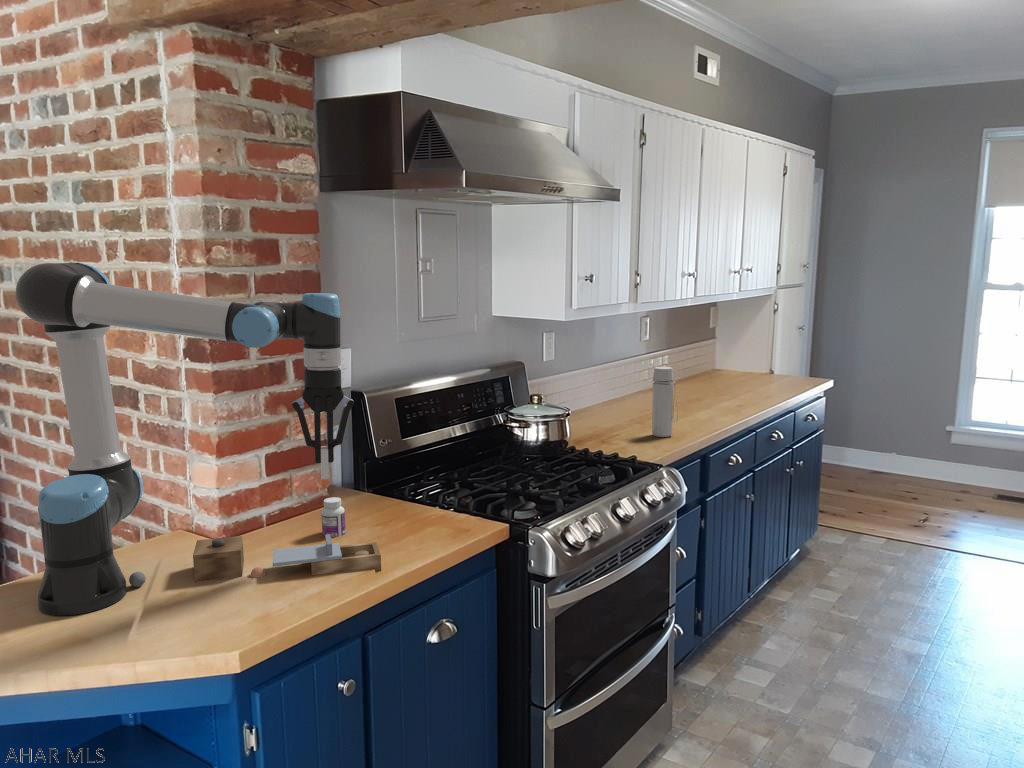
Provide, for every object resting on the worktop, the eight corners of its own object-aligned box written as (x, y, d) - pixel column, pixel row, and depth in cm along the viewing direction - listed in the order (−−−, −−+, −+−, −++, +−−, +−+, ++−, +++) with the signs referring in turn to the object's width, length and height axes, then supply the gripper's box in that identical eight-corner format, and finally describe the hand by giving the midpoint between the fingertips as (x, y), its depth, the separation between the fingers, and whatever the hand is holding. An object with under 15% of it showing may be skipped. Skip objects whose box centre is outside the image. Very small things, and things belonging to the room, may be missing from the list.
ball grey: (125, 578, 157) (139, 570, 158) (127, 574, 160) (142, 567, 161) (132, 591, 158) (147, 583, 159) (135, 587, 161) (149, 579, 161)
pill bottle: (336, 533, 189) (334, 494, 188) (350, 538, 186) (349, 498, 184) (317, 540, 185) (315, 500, 184) (332, 545, 182) (330, 504, 180)
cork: (356, 568, 166) (355, 556, 166) (355, 563, 169) (354, 551, 168) (369, 567, 167) (369, 554, 166) (368, 562, 169) (367, 549, 169)
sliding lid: (272, 566, 158) (271, 551, 158) (272, 553, 166) (272, 538, 165) (341, 558, 162) (341, 544, 162) (339, 545, 170) (338, 531, 169)
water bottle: (651, 437, 286) (653, 369, 282) (651, 433, 293) (652, 366, 289) (677, 438, 284) (679, 369, 280) (677, 433, 292) (678, 366, 288)
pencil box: (312, 581, 161) (311, 562, 160) (310, 567, 169) (309, 549, 168) (381, 573, 165) (380, 555, 164) (376, 559, 172) (376, 542, 172)
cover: (195, 588, 158) (192, 550, 157) (199, 572, 167) (196, 535, 165) (242, 583, 161) (240, 545, 159) (244, 566, 169) (242, 531, 168)
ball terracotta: (250, 585, 160) (249, 571, 159) (251, 579, 162) (250, 565, 162) (266, 583, 160) (265, 569, 160) (266, 577, 163) (265, 563, 163)
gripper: (290, 370, 159) (293, 484, 163) (355, 369, 163) (357, 480, 167) (290, 365, 167) (292, 474, 170) (353, 364, 170) (354, 471, 174)
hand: (324, 477), depth 168 cm, fingers closed
